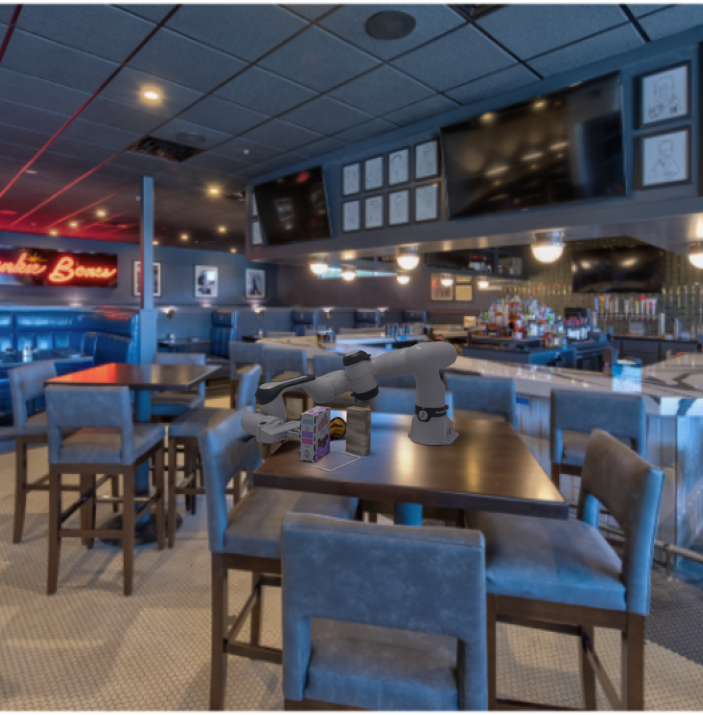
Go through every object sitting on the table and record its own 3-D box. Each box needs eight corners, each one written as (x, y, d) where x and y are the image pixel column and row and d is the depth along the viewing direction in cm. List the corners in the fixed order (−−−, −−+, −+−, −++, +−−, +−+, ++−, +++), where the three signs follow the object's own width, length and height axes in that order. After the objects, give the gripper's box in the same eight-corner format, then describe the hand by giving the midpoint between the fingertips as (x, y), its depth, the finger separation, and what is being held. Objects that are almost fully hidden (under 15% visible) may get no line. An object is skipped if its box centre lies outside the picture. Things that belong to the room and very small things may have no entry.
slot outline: (342, 452, 167) (342, 451, 167) (362, 457, 162) (362, 457, 162) (308, 465, 153) (308, 465, 153) (329, 472, 148) (329, 471, 148)
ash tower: (352, 448, 172) (353, 406, 170) (370, 452, 168) (371, 409, 166) (345, 451, 169) (346, 407, 167) (363, 455, 164) (364, 411, 163)
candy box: (314, 463, 156) (315, 415, 154) (298, 461, 158) (299, 413, 156) (330, 451, 169) (331, 406, 167) (315, 449, 171) (316, 405, 169)
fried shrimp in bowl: (357, 426, 186) (331, 420, 172) (343, 449, 187) (316, 445, 173) (342, 414, 191) (315, 407, 177) (329, 436, 192) (301, 431, 178)
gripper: (293, 430, 183) (320, 437, 175) (253, 442, 166) (281, 450, 158) (293, 415, 182) (320, 421, 174) (253, 425, 166) (281, 432, 158)
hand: (301, 435), depth 166 cm, fingers closed
